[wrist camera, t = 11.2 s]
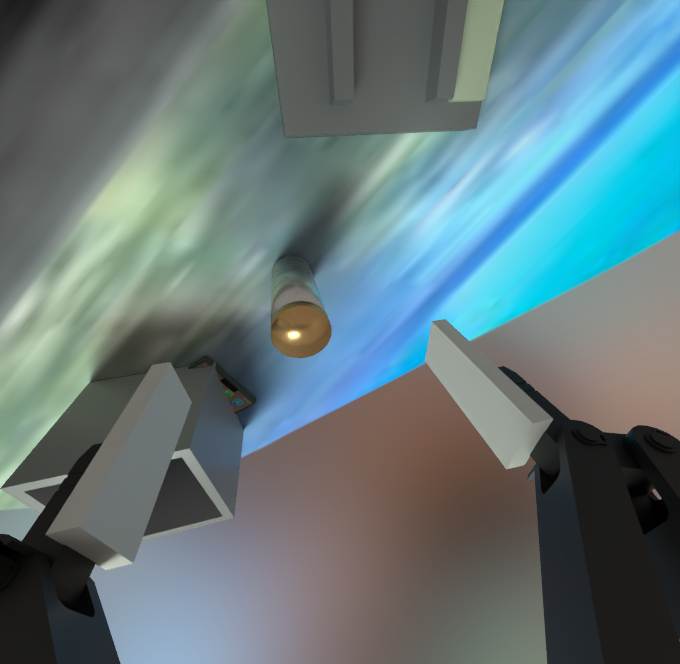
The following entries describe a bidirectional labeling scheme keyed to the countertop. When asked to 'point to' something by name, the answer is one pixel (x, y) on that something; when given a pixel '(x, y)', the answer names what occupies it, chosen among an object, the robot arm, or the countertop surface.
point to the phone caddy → (186, 463)
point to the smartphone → (228, 386)
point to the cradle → (381, 64)
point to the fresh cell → (297, 310)
